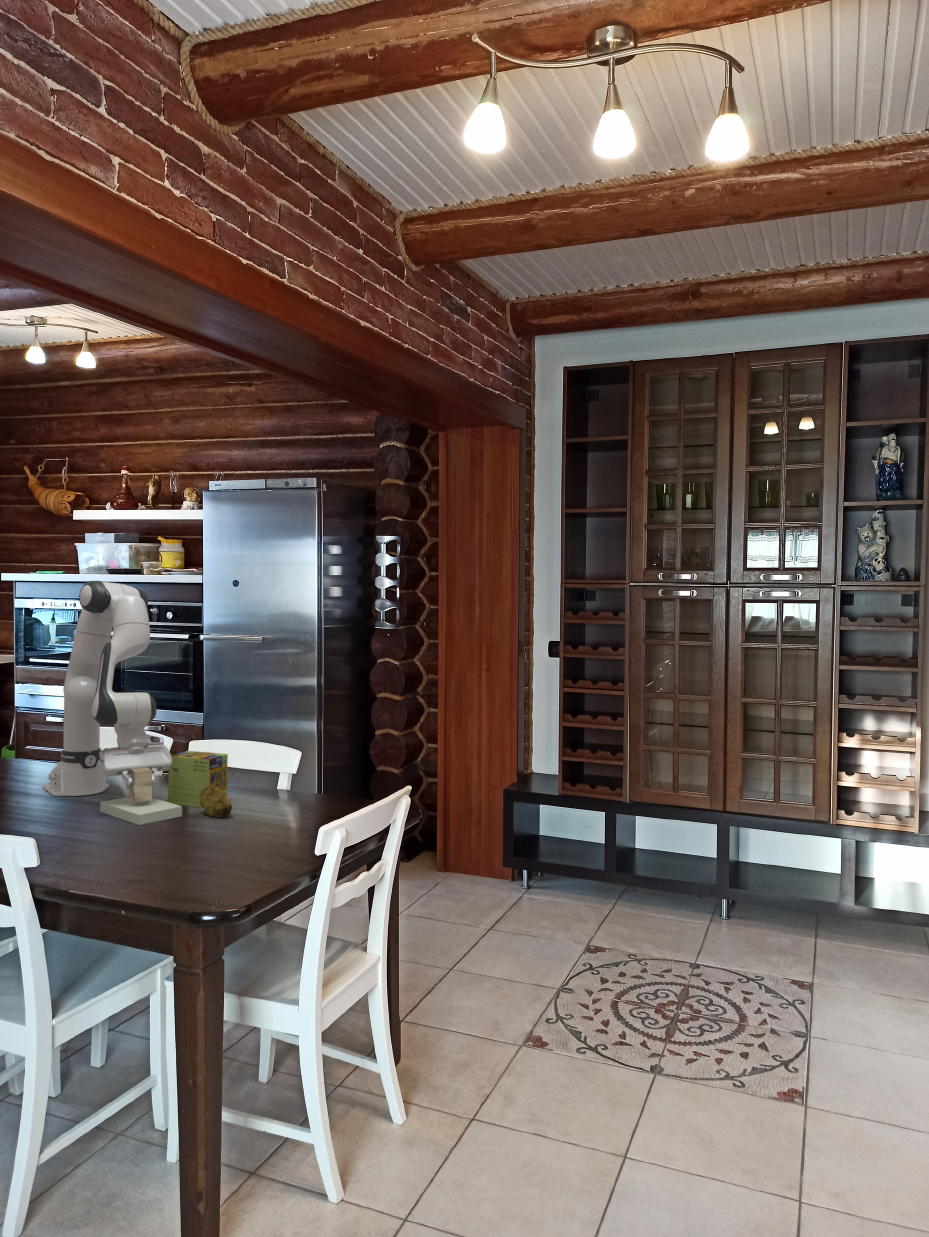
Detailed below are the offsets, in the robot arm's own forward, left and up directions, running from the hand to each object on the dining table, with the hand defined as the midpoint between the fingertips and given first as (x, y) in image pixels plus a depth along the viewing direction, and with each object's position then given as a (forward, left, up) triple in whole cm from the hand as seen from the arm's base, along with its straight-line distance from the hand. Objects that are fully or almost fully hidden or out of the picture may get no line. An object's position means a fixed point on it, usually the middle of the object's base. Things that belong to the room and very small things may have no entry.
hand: (141, 783), depth 274 cm
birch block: (-1, 0, -5) cm, 5 cm away
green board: (-1, 0, -9) cm, 9 cm away
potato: (+16, +15, -10) cm, 24 cm away
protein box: (-1, +20, -10) cm, 22 cm away
